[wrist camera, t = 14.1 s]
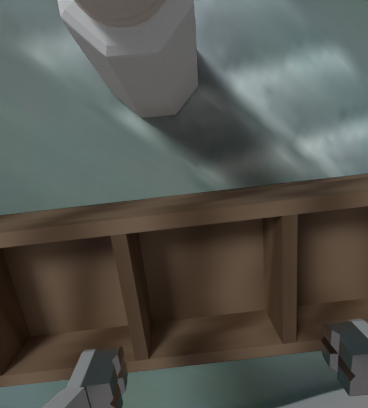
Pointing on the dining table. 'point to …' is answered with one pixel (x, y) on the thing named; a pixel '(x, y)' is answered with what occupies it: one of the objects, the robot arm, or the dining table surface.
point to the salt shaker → (139, 49)
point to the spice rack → (182, 277)
